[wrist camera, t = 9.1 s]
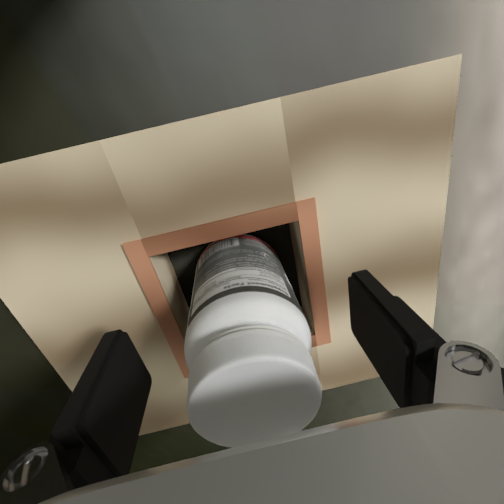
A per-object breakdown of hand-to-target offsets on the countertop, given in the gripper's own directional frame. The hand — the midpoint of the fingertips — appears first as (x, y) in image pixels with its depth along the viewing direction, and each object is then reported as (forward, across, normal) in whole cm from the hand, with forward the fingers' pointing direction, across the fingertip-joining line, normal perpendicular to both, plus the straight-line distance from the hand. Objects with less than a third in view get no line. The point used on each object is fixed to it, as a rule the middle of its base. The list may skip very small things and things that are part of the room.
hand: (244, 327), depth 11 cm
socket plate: (+5, 0, 0) cm, 5 cm away
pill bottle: (+5, 0, 0) cm, 5 cm away
